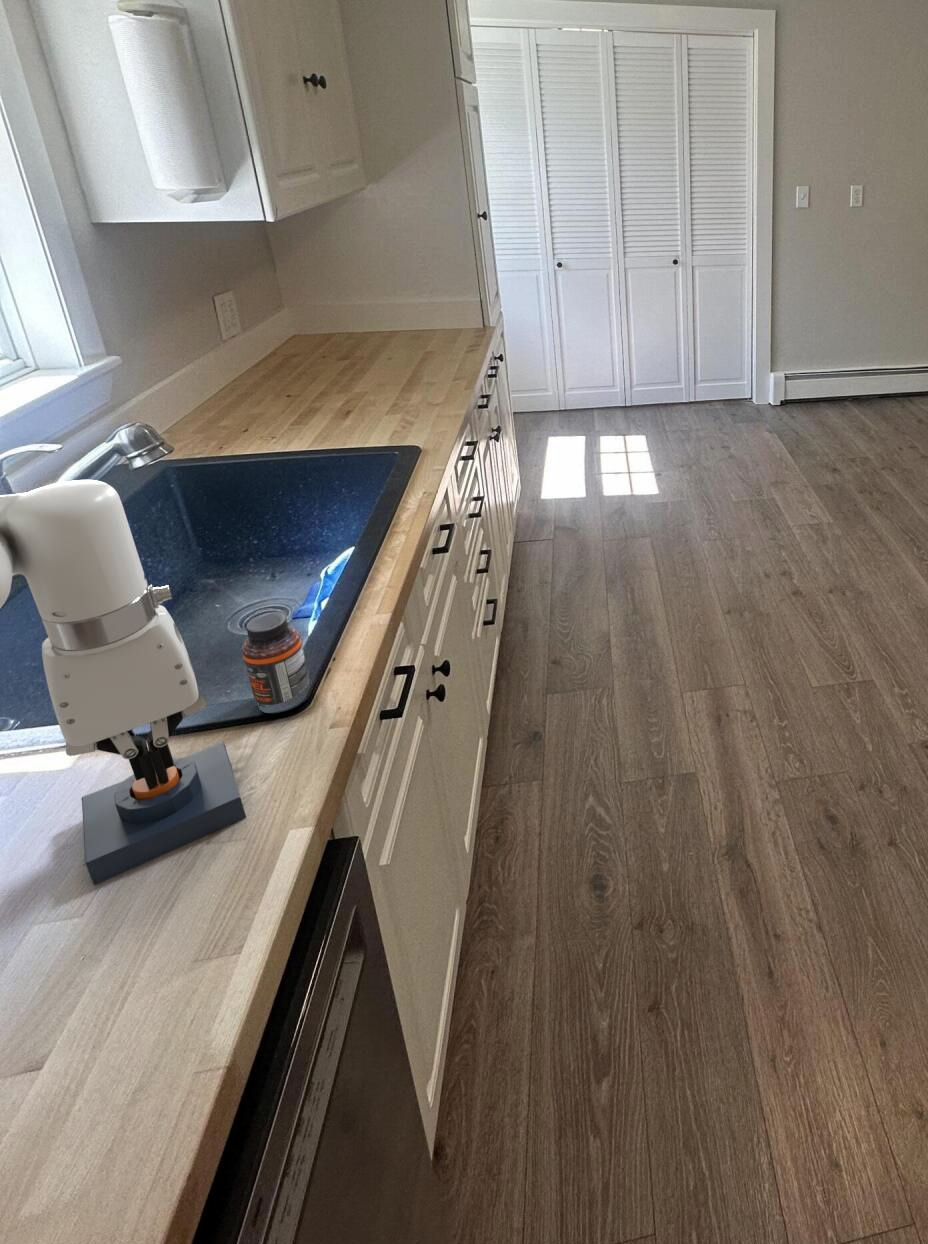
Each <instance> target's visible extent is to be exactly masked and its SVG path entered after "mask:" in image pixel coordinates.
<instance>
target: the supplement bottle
mask: <svg viewBox="0 0 928 1244" xmlns="http://www.w3.org/2000/svg"><path fill="white" fill-rule="evenodd" d="M246 632H247V633H246V634H247V638H246V639H245V640H244V642H243V643H242V648H241V653H242V657H243V662H244V664H245V669H246V672H247V677H248V681H249V684H250V685H249V686H250V688H251V692H252V696H253V699H254V698H258V699H256V700H255V701H256V702H258V703H259V706H263V707H265V706H274V705H276V704H279V703H282V702H285V701H287V700H289V699H291V698H292V697H294V696H296V695H297V694H299V693H301V692H302V691H303V690H304V689H305V688H306V687H307V685H308V684H309V681H310V682H311V678H309V677H310V674H309V673H310V672H309V669H308V664H307V660H306V656H305V655H306V654H305V651H304V647H303V643H302V638H301V635H300V632H299V630H298V629H296V628H295V627H294V626H291V625H289V623H288V620H287V616H286V615H285V614H284V613H283V612H278V611H273V612H266V613H265V612H264V613H262V614H260V615H257V616H256V617H253V618H252V619H251V620H249V621H248V622H247V624H246ZM255 701H254V702H255Z"/></svg>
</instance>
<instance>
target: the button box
mask: <svg viewBox="0 0 928 1244" xmlns="http://www.w3.org/2000/svg"><path fill="white" fill-rule="evenodd" d="M173 762H174V767H176V769H177V771H178V774H179V777H180V780H179V782H178V783H177V785H175V786H174V787H173V788H171V789H170V790H169V791H167V792H166V793H164V794H161V795H159V796H156V797H154V798H151V799H142V800H137V799H136V798H135V795H134V792H133V790H132V784H133V782H134V781H135V780H136V778H135V776H134V773H132V774H131V775H130V776H128V777H127V778H126V779H124V780H121V781H119V782H117V783H113V784H111V785H109V786H106V787H104V788H101V789H98V790H97V791H94V792H91V793H89V794H86V795H83V796H82V797H81V810H82V812H81V813H82V826H83V827H82V829H83V846H84V862H85V863H84V864H85V867H86V869H87V872H88V874H89V877H90V880H91V882H92V884H93V886H96V885H98V884H101V883H103V882H105V881H107V880H110V879H112V878H114V877H117V876H119V875H121V874H123V873H125V872H128V871H130V870H133V869H134V868H137V867H139V866H142V865H143V864H145V863H148V862H150V861H153V860H154V859H157V858H160V857H162V856H165V855H166V854H169V853H171V852H172V851H175V850H177V849H180V848H181V847H182V848H183V846H186V845H188V844H190V843H192V842H195V841H197V840H199V839H202V838H204V837H207V836H209V835H211V834H213V833H215V832H217V831H220V830H222V829H224V828H226V827H229V826H231V825H234V824H235V823H238V822H240V821H242V820H244V819H246V818H247V815H246V811H245V807H244V805H243V801H242V797H241V794H240V790H239V788H238V784H237V781H236V778H235V774H234V771H233V770H234V769H233V767H232V764H231V760H230V757H229V754H228V751H227V748H226V744H225V742H224V741H222V742H220V743H217V744H215V745H212V746H210V747H206V748H204V749H201V750H199V751H196V752H194V753H191V754H189V755H186V756H184V757H176V758H173Z"/></svg>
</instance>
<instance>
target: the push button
mask: <svg viewBox="0 0 928 1244" xmlns="http://www.w3.org/2000/svg"><path fill="white" fill-rule="evenodd" d="M155 773H156V772H155ZM167 774H168V779H169V781H168V782H166V783H163V784H162V783H159V780H158V777H157V775H156V779H157V785H155V787H153V788H151V789H148V786H147V783H146V780H145V778H142V779H140V780H137V781H136V780H135V781H134V782H133V784H132V790H133V792H134V795H135V798H136V799H137V800H142V799H151V798H154V797H156V796H159V795H161V794H164V793H166V792H167V791H169V790H170V789H171V788H173V787H174V786H175V785H177V783H178V782H179V780H180V777H179V774H178V771H177V769H176V767H174V766H172V767H170V768H167Z"/></svg>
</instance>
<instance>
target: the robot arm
mask: <svg viewBox="0 0 928 1244" xmlns="http://www.w3.org/2000/svg"><path fill="white" fill-rule="evenodd" d="M130 527H131V526H130V525H129V521H128V518H127V515H126V512H125V509H124V505H123V502H122V501H121V498H120V494H119V493H118V491H117V490H116V489H115V488H114V487H113V486H112V485H110V484H108V483H107V482H104V481H100V480H96V479H79V480H78V479H77V480H69V481H62V482H56V483H52V484H48V485H45V486H42V487H41V486H40V487H39V488H38V487H37V488H35V489H32V490H29V491H28V492H20V493H15V494H12V493H11V494H1V495H0V609H2V607H3V606H4V604H5V603H6V601H7V600H8V598H9V595H10V593H11V590H12V583H13V575H22V576H24V577H25V579H26V582H27V585H28V587H29V590H30V593H31V595H32V598H33V601H34V603H35V606H36V608H37V611H38V613H39V616H40V619H41V621H42V624H43V626H44V630H45V632H46V635H47V637H46V639H44V641H42V644H41V655H42V663H43V670H44V674H45V679H46V685H47V689H48V692H49V696H50V700H51V703H52V707H53V710H54V714H55V717H56V720H57V723H58V726H59V729H60V732H61V734H62V736H63V738H64V740H65V754H66V755H67V756H69V757H74V756H78V755H85V754H88V753H93V752H95V751H100V752H104V753H105V752H106V753H109V754H114V755H119V756H121V757H122V758H123V759H125V760H128V762H129V764H130V767H131V770H132V772H133V773H132V774H134V776H135V778H136V781H137V780H140V779H142V778H145V780H146V783H147V786H148V789H151V788H153V787H155V785H157V779H156V775H157V777H158V780H159V783H162V784H163V783H166V782H168V781H169V779H168V774H167V768H170V767H172V766H174V762H173V759H174V758H173V755H172V752H171V749H170V746H169V742H170V737H171V736H172V734H173V733H175V731H176V729H177V728H178V727H179V725H180V724H181V723H182V721H183V719H185V718H188V717H190V716H191V715H193V714H195V713H197V712H199V711H201V710H202V709H204V708H205V707H207V704H208V701H207V699H206V695H205V694H204V693H203V691H202V690H201V689H200V687H199V686H198V683H197V680H196V673H195V670H194V667H193V664H192V661H191V658H190V655H189V653H188V651H187V648H186V646H185V643H184V640H183V638H182V635H181V633H180V630H179V629H178V626H177V624H176V623H175V621H174V619H173V618H172V616H171V614H170V613H169V611H168V610H167V608H166V607H165V606H164V605H162V604H164V602H166V601H170V600H173V596H172V593H171V590H170V586H169V585H165V586H161V587H159V586H156V587H154V586H153V584H150V585H149V584H148V581H147V577H146V575H145V571H144V569H143V566H142V563H141V559H140V556H139V553H138V550H137V547H136V543H135V541H134V537H133V534H132V530H131V528H130ZM148 724H149V726H150V729H149V731H148V733H147V737H146V739H145V738H143V737H142V736H139V735H136V733H135V731H134V729H137V728H140V727H143V726H146V725H148ZM155 772H156V773H155Z"/></svg>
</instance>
